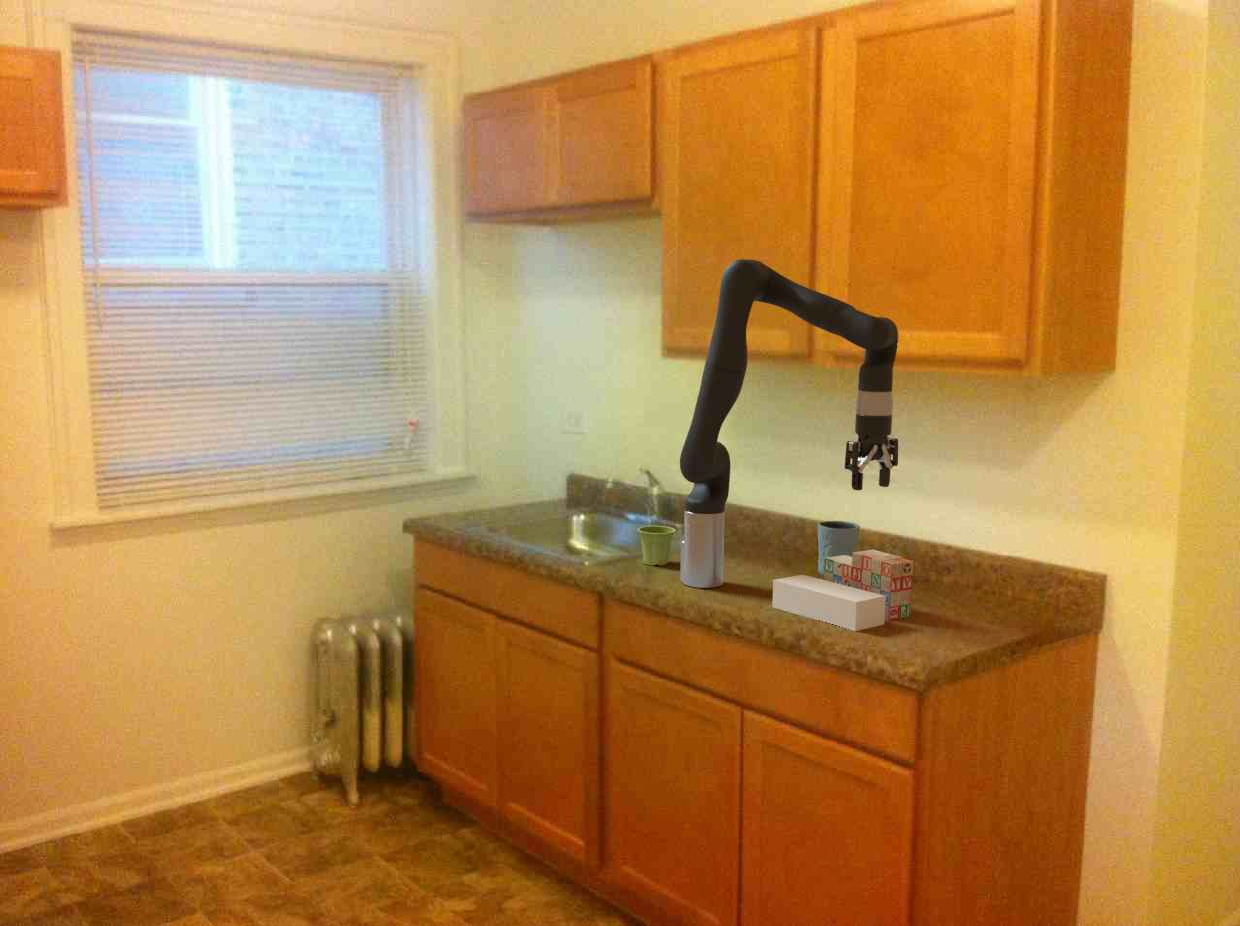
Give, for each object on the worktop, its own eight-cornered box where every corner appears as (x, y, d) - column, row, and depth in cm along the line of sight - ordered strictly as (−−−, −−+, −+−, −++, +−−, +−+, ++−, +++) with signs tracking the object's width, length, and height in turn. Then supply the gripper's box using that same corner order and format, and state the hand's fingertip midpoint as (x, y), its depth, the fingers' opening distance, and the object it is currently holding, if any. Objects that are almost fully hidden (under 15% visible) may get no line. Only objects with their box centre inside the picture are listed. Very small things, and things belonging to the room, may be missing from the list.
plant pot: (682, 563, 293) (682, 529, 292) (658, 569, 286) (659, 534, 285) (653, 557, 299) (653, 524, 298) (629, 563, 292) (630, 529, 291)
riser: (772, 607, 251) (773, 579, 251) (801, 601, 257) (802, 574, 256) (855, 631, 234) (856, 602, 233) (884, 624, 239) (885, 595, 238)
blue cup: (826, 566, 292) (828, 519, 291) (864, 572, 287) (866, 523, 285) (808, 573, 284) (810, 524, 283) (847, 579, 278) (849, 530, 277)
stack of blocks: (822, 598, 261) (824, 543, 259) (844, 595, 264) (846, 541, 262) (888, 621, 242) (891, 562, 241) (911, 617, 245) (914, 560, 244)
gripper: (882, 409, 254) (878, 483, 256) (837, 412, 245) (834, 488, 248) (910, 412, 248) (906, 488, 250) (865, 415, 240) (861, 493, 242)
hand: (870, 488), depth 249 cm, fingers open, 8 cm apart
